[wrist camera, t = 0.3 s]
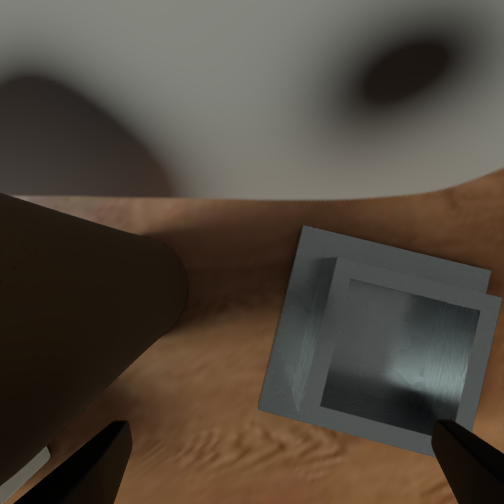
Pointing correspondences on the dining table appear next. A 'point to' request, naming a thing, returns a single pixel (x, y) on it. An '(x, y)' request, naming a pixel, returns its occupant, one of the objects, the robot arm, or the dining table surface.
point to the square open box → (379, 340)
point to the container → (23, 475)
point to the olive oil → (72, 318)
